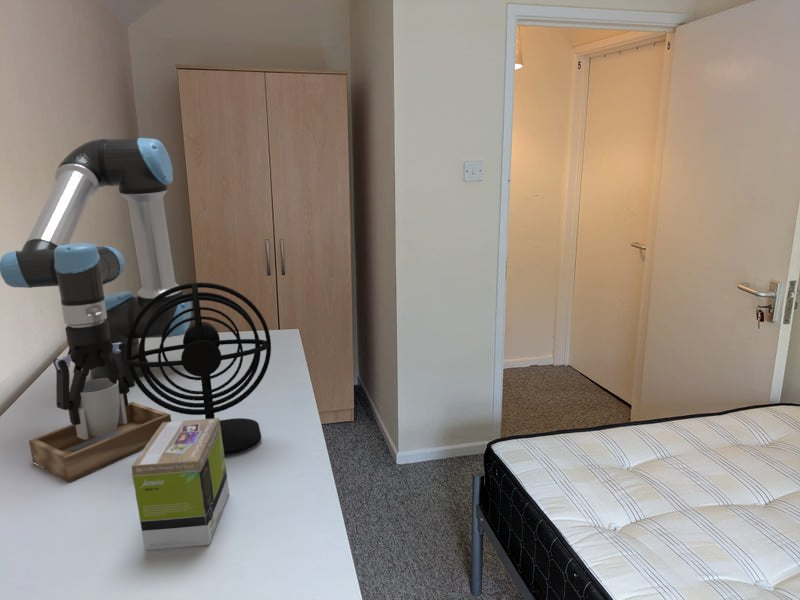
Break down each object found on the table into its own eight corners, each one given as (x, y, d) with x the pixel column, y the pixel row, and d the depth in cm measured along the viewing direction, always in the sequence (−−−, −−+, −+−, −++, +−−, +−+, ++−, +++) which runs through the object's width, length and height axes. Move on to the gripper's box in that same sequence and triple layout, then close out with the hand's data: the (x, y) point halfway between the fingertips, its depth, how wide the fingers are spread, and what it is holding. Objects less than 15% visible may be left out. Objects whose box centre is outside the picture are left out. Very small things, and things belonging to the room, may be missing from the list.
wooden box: (33, 463, 114) (28, 440, 113) (135, 422, 132) (132, 401, 131) (70, 482, 107) (66, 458, 106) (173, 435, 125) (170, 414, 123)
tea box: (172, 497, 101) (162, 419, 98) (230, 493, 102) (222, 415, 98) (142, 552, 86) (129, 463, 83) (210, 547, 87) (200, 458, 84)
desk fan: (136, 478, 108) (110, 296, 100) (144, 438, 124) (123, 278, 116) (282, 452, 116) (268, 282, 108) (272, 418, 132) (259, 268, 124)
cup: (132, 422, 122) (126, 378, 120) (110, 440, 114) (102, 393, 112) (96, 422, 123) (89, 377, 121) (71, 439, 115) (63, 392, 113)
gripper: (41, 338, 103) (61, 455, 108) (145, 313, 120) (158, 415, 125) (21, 332, 107) (41, 445, 112) (124, 309, 124) (137, 408, 129)
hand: (102, 429), depth 118 cm, fingers closed on cup, 8 cm apart
